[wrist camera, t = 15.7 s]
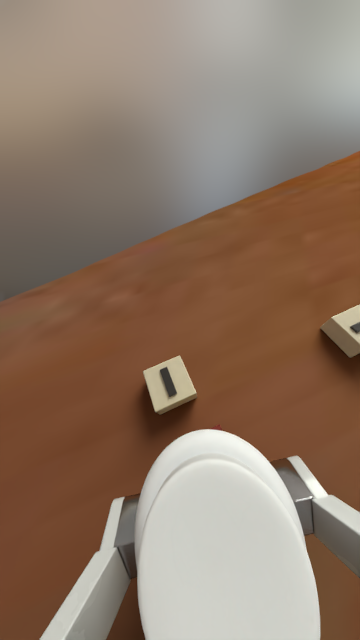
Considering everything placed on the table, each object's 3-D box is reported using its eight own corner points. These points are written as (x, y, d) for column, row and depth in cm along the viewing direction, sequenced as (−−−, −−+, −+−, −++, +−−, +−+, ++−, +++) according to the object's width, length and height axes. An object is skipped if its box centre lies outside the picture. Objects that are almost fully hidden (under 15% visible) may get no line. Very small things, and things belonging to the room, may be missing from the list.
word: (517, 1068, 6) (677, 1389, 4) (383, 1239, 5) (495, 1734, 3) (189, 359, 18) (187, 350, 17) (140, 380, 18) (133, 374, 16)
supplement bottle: (269, 492, 12) (439, 634, 3) (204, 566, 11) (214, 1133, 2) (211, 415, 15) (225, 387, 6) (154, 467, 13) (65, 526, 5)
